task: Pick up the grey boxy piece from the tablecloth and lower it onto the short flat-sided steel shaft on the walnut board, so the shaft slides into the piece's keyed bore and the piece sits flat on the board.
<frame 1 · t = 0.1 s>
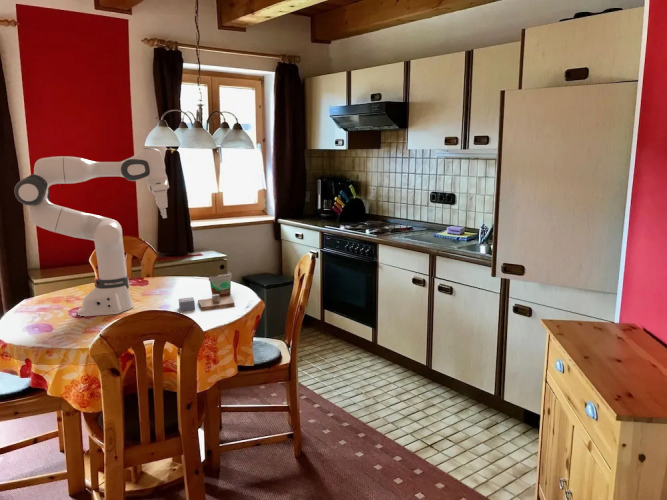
hand: (164, 216, 236), 39 cm above the table, tool pointing down, fingers open, 8 cm apart
grey boxy piece: (187, 308, 232), on the table
food container: (224, 295, 252), on the table
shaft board: (216, 304, 236), on the table
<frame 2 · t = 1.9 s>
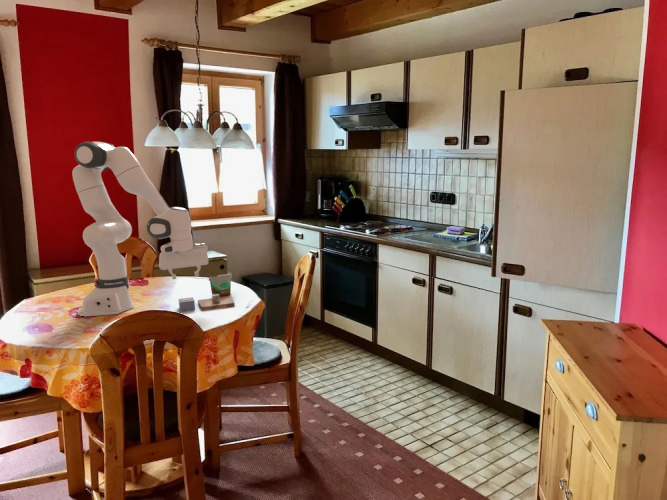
hand: (185, 277, 229), 14 cm above the table, tool pointing down, fingers open, 8 cm apart
nothing on the table moved.
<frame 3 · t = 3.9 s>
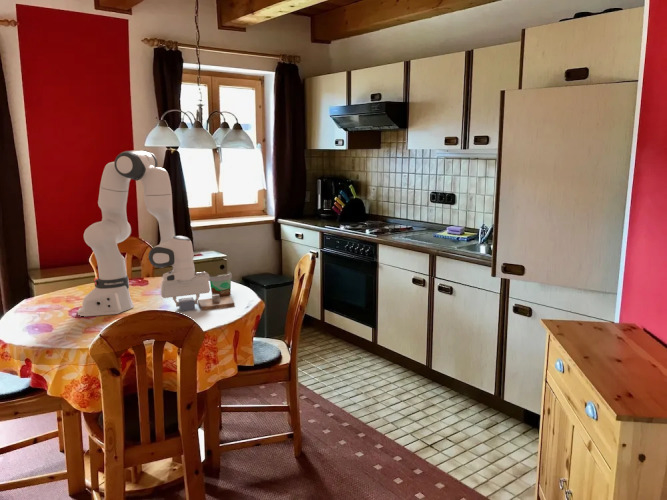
hand: (186, 305, 231), 2 cm above the table, tool pointing down, fingers closed on grey boxy piece, 6 cm apart
grey boxy piece: (187, 308, 232), on the table, touching gripper
everything else where it was.
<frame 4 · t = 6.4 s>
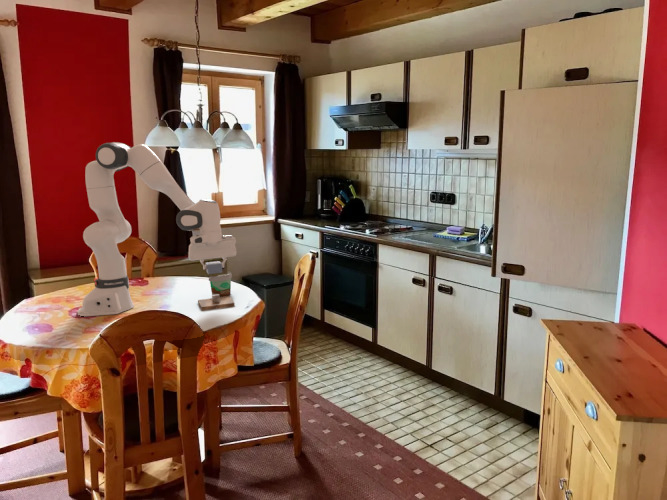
hand: (213, 268, 233), 16 cm above the table, tool pointing down, fingers closed on grey boxy piece, 6 cm apart
grey boxy piece: (214, 272, 233), point 15 cm above the table, touching gripper
everything else where it was.
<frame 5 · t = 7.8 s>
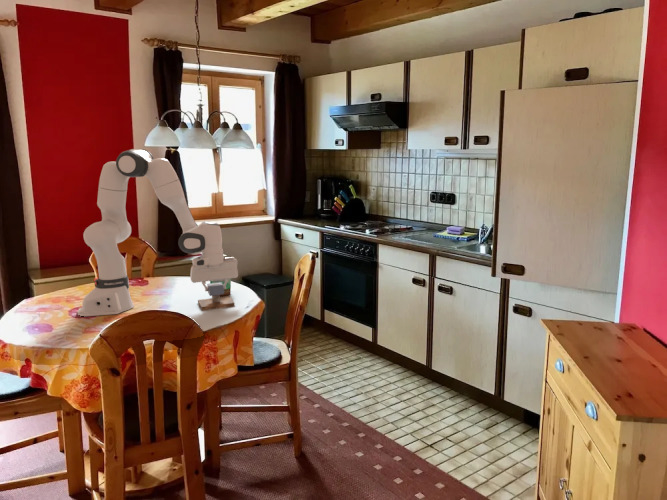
hand: (215, 289, 235), 7 cm above the table, tool pointing down, fingers closed on grey boxy piece, 6 cm apart
grey boxy piece: (215, 293, 235), point 5 cm above the table, touching gripper
everything else where it was.
when the fingers open (4 cm above the table, at t = 9.2 s): grey boxy piece stays where it is, resting on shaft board.
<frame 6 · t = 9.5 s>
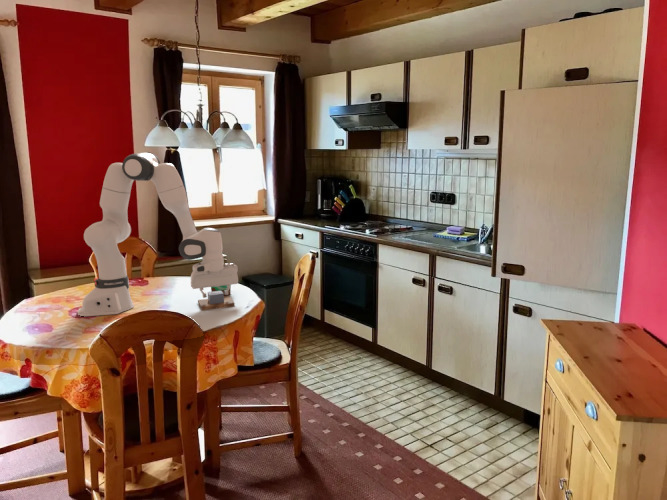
hand: (215, 296, 235), 4 cm above the table, tool pointing down, fingers open, 8 cm apart
grey boxy piece: (216, 301, 236), point 1 cm above the table, touching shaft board
everything else where it was.
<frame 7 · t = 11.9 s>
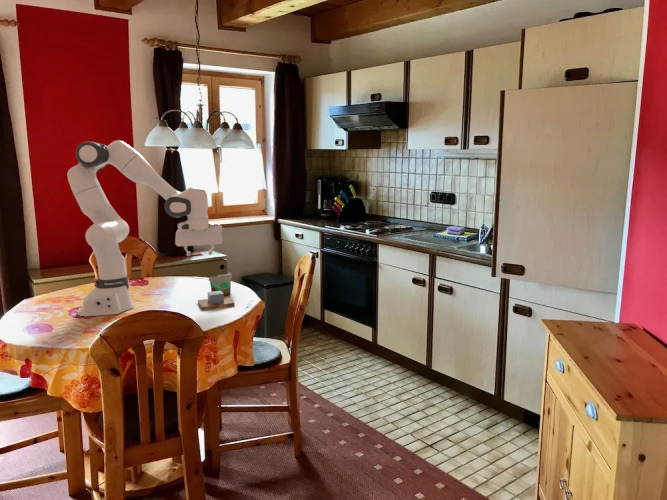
hand: (199, 255, 239), 21 cm above the table, tool pointing down, fingers open, 8 cm apart
nothing on the table moved.
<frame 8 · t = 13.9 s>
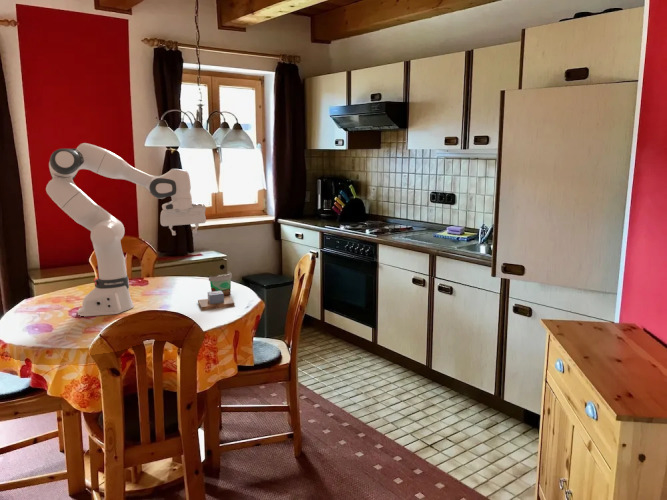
hand: (184, 234, 248), 29 cm above the table, tool pointing down, fingers open, 8 cm apart
nothing on the table moved.
at the end: grey boxy piece 0.1 cm off-centre on the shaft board, point 1.5 cm above the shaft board's base; grey boxy piece tilted 0°; the gripper is holding nothing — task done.
